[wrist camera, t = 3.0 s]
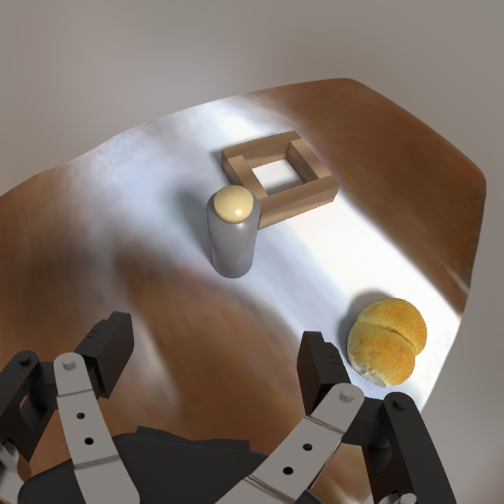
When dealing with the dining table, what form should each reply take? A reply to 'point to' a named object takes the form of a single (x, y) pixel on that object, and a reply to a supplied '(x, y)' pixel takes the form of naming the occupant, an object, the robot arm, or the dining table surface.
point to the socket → (288, 201)
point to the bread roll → (387, 341)
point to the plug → (232, 230)
